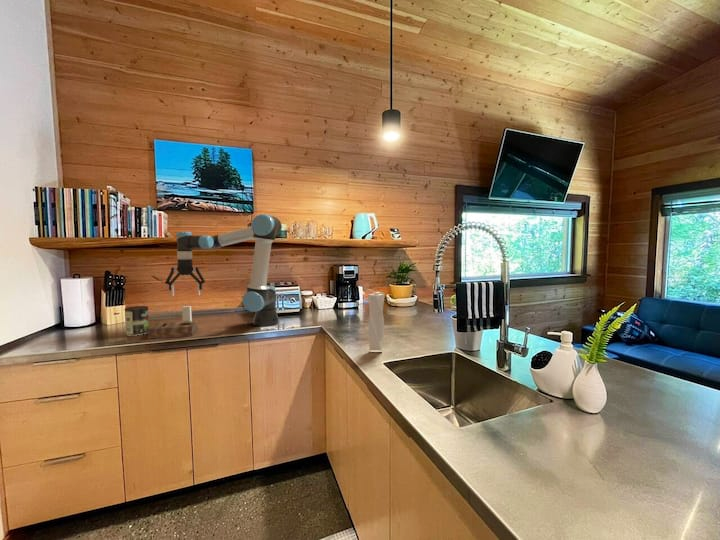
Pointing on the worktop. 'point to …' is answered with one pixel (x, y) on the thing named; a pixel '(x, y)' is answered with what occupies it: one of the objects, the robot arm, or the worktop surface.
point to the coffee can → (136, 320)
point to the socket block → (173, 329)
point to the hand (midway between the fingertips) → (186, 295)
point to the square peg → (186, 313)
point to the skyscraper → (376, 320)
